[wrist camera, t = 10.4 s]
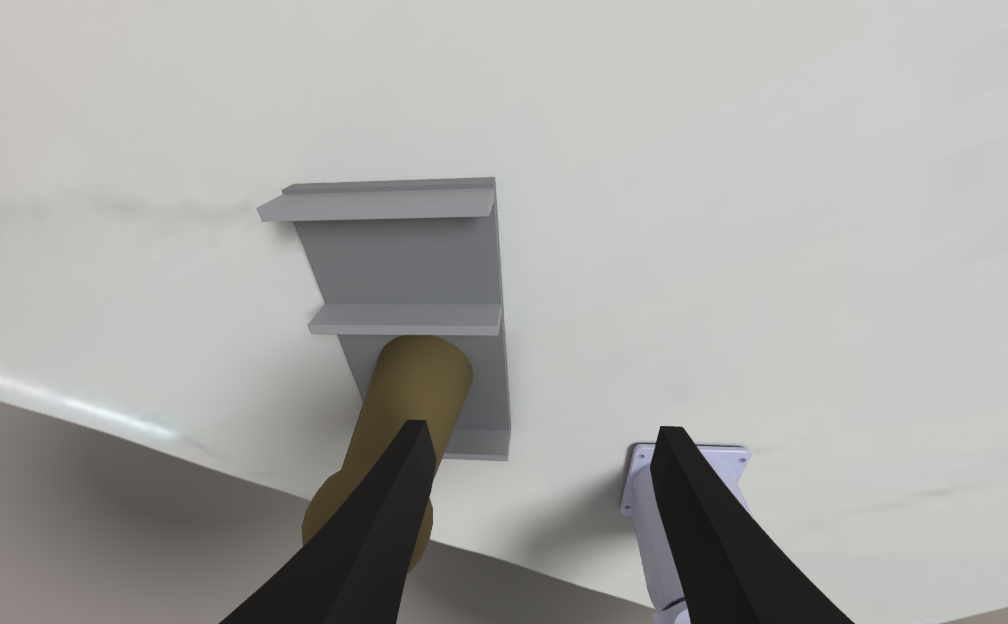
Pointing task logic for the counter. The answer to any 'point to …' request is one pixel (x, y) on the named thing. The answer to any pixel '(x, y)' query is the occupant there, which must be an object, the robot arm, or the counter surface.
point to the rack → (411, 282)
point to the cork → (399, 419)
